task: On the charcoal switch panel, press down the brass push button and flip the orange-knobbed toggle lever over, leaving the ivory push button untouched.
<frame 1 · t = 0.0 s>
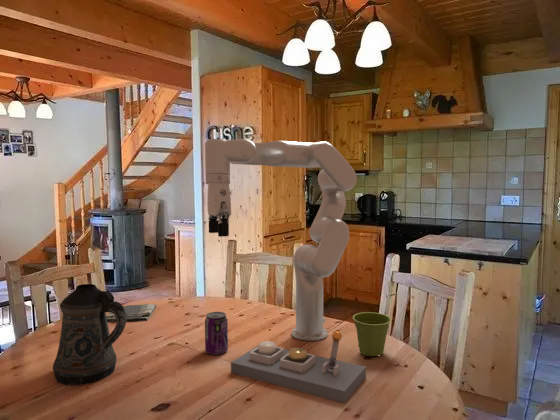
hand: (218, 234, 136), 37 cm above the table, tool pointing down, fingers open, 9 cm apart
switch panel: (297, 374, 122), on the table
brass button: (297, 354, 121), point 6 cm above the table, slide at 0.0 cm
ivory button: (267, 347, 126), point 6 cm above the table, slide at 0.0 cm
beverage can: (216, 352, 139), on the table
dish towel: (130, 316, 177), on the table
beer stein: (91, 372, 124), on the table
plant pot: (371, 353, 137), on the table
lever: (335, 343, 119), point 10 cm above the table, hinge at -25.0°
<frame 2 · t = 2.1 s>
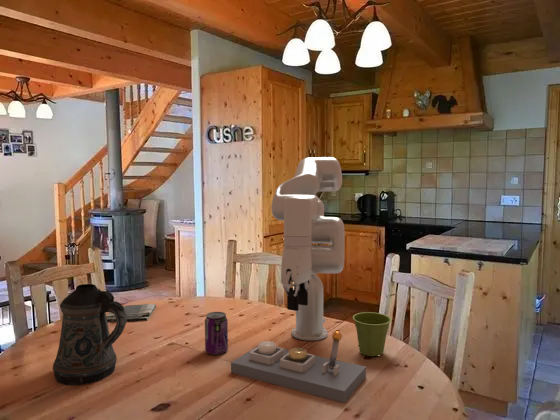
hand: (297, 306, 120), 19 cm above the table, tool pointing down, fingers open, 4 cm apart
nothing on the table moved.
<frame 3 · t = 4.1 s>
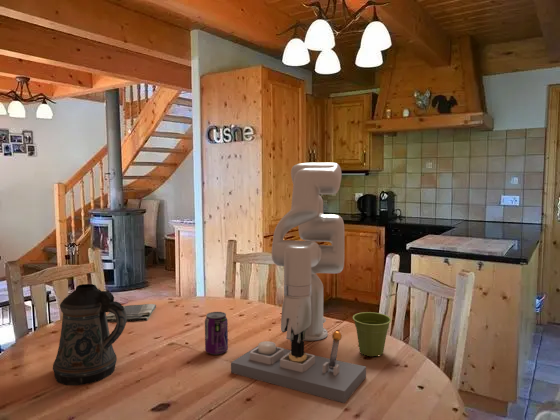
hand: (297, 355, 121), 6 cm above the table, tool pointing down, fingers closed
brass button: (297, 358, 122), point 5 cm above the table, slide at 1.1 cm, touching gripper
everything else where it was.
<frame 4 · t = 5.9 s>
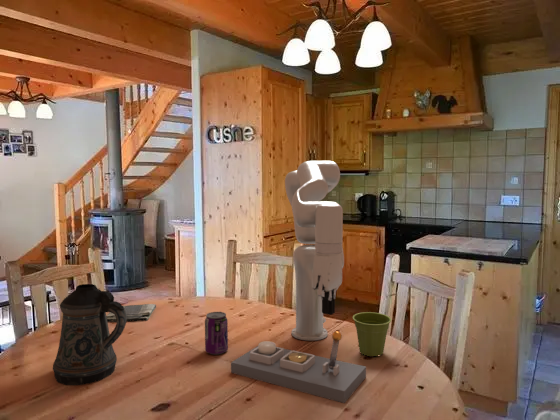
hand: (328, 313, 123), 17 cm above the table, tool pointing down, fingers closed
brass button: (297, 359, 122), point 4 cm above the table, slide at 1.4 cm
everything else where it was.
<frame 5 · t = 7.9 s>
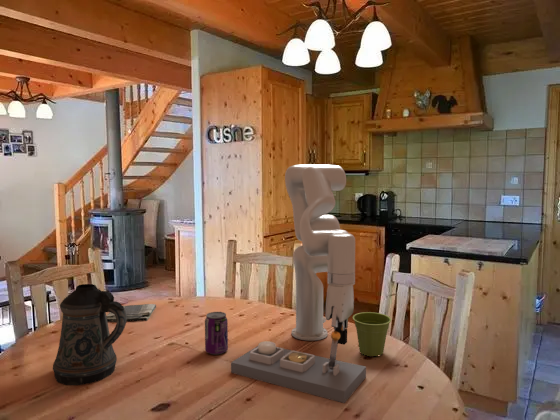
hand: (340, 342, 122), 9 cm above the table, tool pointing down, fingers closed
lever: (334, 343, 118), point 10 cm above the table, hinge at -19.4°, touching gripper
everything else where it was.
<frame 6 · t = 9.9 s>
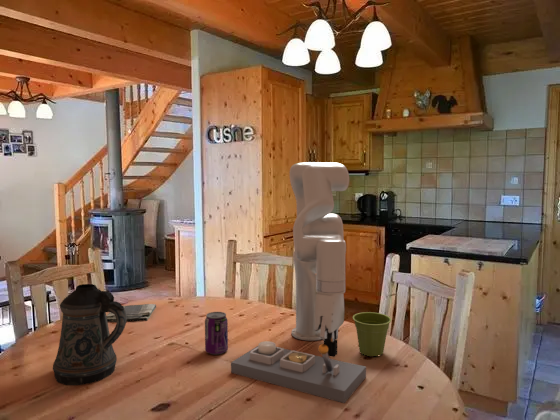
hand: (330, 354, 115), 8 cm above the table, tool pointing down, fingers closed
lever: (325, 354, 113), point 9 cm above the table, hinge at 31.5°, touching gripper
everything else where it was.
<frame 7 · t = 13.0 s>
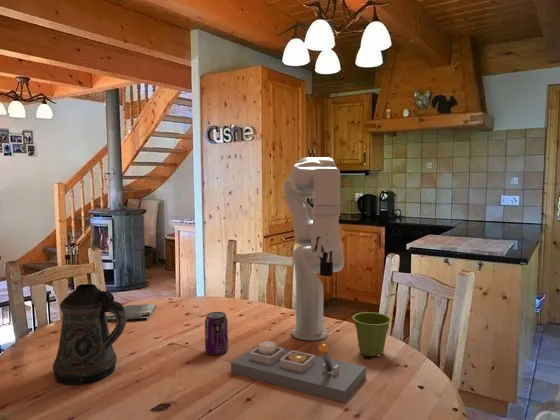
hand: (326, 275, 124), 27 cm above the table, tool pointing down, fingers closed
lever: (325, 354, 113), point 9 cm above the table, hinge at 31.5°
everything else where it was.
at the end: brass button slide at 1.4 cm; lever at +32° (first picture: -25°); ivory button slide at 0.0 cm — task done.
